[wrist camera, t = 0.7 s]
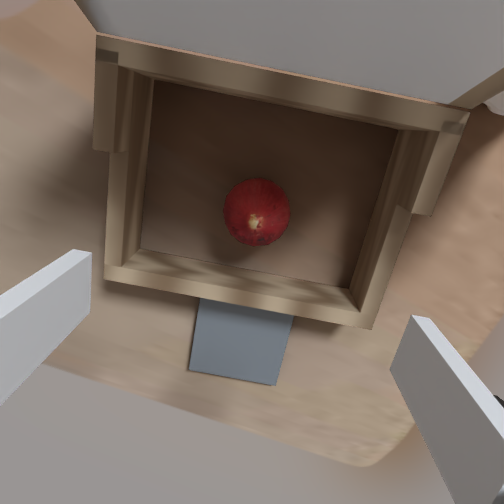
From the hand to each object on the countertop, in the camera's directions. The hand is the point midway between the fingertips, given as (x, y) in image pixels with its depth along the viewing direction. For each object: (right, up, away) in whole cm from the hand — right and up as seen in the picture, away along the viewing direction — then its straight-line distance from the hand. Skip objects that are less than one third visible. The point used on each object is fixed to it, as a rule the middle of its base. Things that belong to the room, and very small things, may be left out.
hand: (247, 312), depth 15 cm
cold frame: (+1, +8, +19) cm, 21 cm away
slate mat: (-1, -7, +25) cm, 26 cm away
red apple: (+1, +7, +20) cm, 21 cm away
